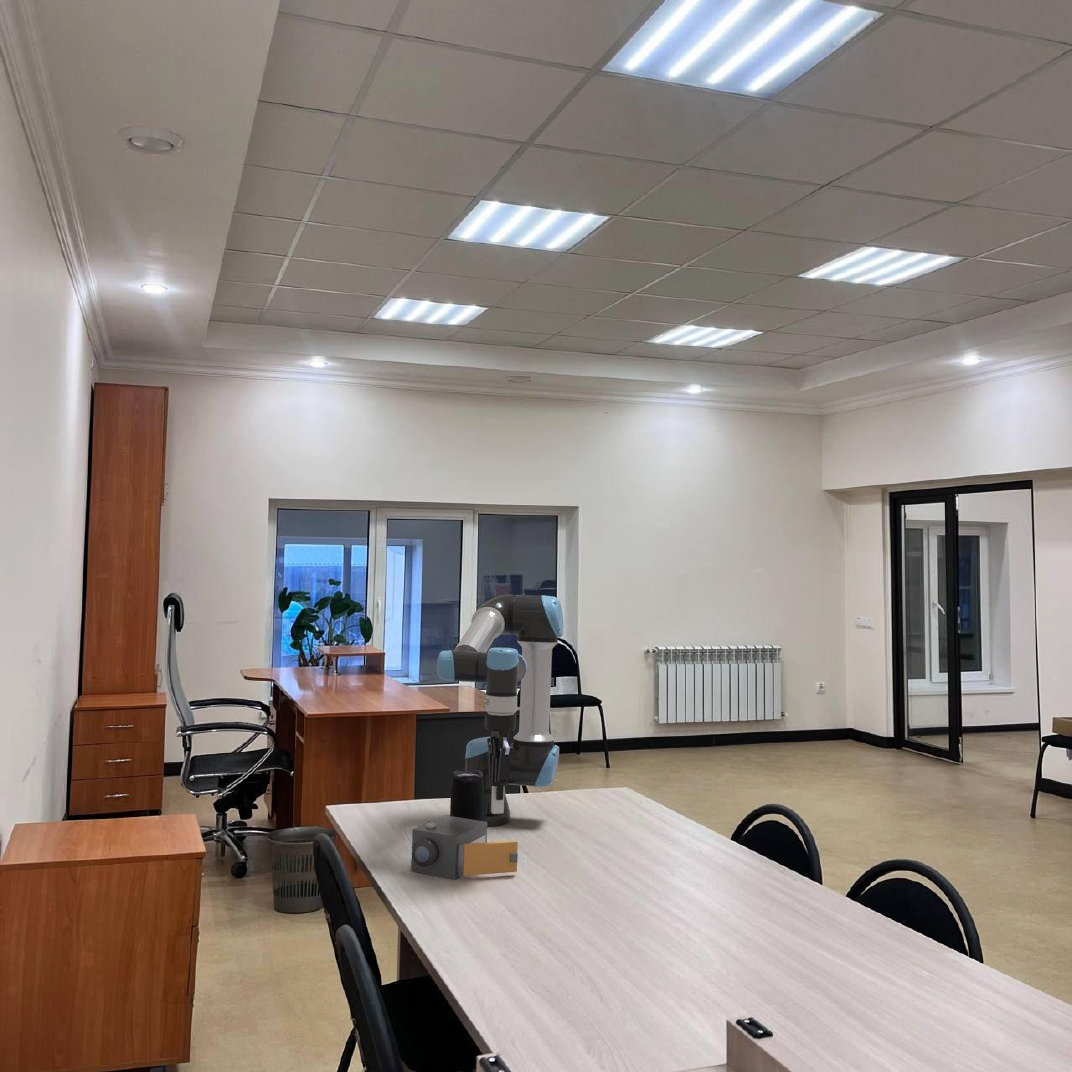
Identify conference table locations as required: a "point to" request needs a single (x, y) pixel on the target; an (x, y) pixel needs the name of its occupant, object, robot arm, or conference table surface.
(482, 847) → the side door
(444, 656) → the robot arm
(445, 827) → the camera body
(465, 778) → the portable speaker
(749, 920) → the conference table surface
